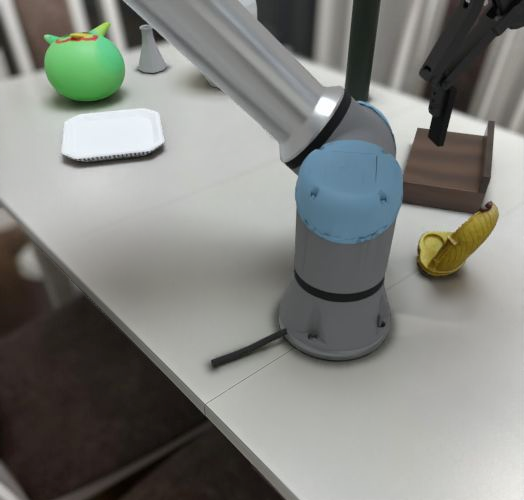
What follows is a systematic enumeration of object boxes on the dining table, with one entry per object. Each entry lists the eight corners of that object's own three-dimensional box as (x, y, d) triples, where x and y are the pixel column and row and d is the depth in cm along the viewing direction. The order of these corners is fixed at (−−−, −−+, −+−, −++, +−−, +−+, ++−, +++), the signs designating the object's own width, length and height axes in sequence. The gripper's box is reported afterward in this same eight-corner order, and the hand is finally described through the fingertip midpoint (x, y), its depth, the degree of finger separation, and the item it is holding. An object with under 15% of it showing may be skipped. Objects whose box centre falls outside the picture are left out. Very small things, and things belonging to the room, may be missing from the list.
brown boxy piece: (478, 214, 92) (491, 177, 87) (397, 201, 95) (404, 165, 90) (484, 155, 106) (495, 121, 101) (413, 146, 109) (420, 112, 104)
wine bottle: (338, 98, 126) (352, -59, 104) (354, 91, 128) (371, -63, 107) (357, 105, 123) (375, -55, 101) (372, 98, 126) (394, -59, 104)
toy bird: (53, 115, 121) (32, 45, 111) (55, 88, 133) (36, 21, 122) (132, 107, 124) (119, 37, 113) (127, 80, 135) (115, 15, 125)
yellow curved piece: (488, 290, 78) (524, 200, 67) (439, 301, 77) (467, 210, 66) (448, 245, 86) (474, 158, 75) (402, 255, 84) (422, 167, 73)
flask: (153, 75, 137) (147, 32, 130) (133, 70, 140) (125, 28, 133) (171, 67, 141) (166, 24, 134) (151, 62, 144) (144, 20, 137)
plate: (62, 170, 104) (59, 159, 103) (67, 125, 118) (64, 115, 116) (167, 158, 107) (165, 147, 105) (159, 115, 121) (158, 106, 119)
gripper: (450, -71, 45) (405, 162, 61) (695, -87, 49) (593, 135, 65) (413, -85, 50) (379, 133, 66) (637, -99, 54) (556, 110, 70)
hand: (485, 135), depth 65 cm, fingers open, 13 cm apart
